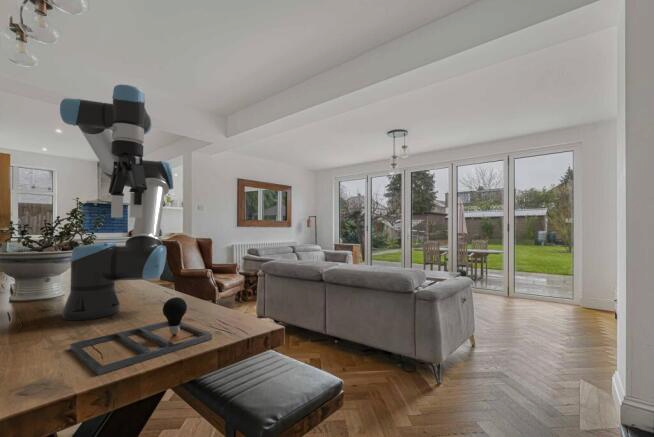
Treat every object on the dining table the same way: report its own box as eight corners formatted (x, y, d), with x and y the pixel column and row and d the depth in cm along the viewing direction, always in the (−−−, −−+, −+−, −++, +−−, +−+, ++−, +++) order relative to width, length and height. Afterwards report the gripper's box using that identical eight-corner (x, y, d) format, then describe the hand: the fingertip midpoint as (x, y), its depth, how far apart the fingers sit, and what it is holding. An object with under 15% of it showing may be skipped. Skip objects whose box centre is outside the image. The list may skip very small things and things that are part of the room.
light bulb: (170, 340, 78) (171, 301, 78) (157, 335, 81) (158, 298, 82) (190, 333, 83) (191, 297, 83) (178, 329, 86) (179, 294, 87)
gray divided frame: (69, 349, 73) (69, 344, 73) (174, 323, 93) (174, 319, 93) (97, 375, 61) (98, 369, 61) (212, 338, 80) (212, 334, 80)
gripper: (97, 146, 91) (95, 217, 90) (130, 131, 76) (128, 217, 75) (125, 151, 97) (123, 218, 96) (162, 138, 81) (160, 217, 81)
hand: (125, 217), depth 86 cm, fingers open, 13 cm apart
